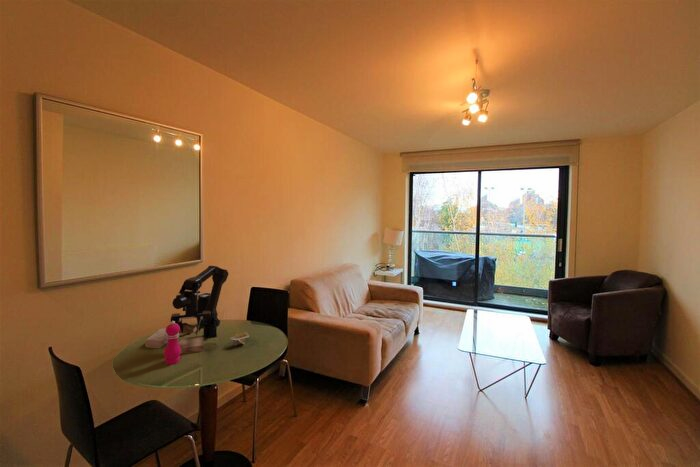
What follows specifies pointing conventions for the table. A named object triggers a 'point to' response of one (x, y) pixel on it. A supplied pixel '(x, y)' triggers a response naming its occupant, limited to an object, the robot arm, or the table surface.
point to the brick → (157, 339)
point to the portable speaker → (202, 304)
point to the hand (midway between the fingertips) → (191, 332)
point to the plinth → (191, 344)
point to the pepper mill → (172, 344)
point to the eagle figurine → (190, 328)
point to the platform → (240, 338)
